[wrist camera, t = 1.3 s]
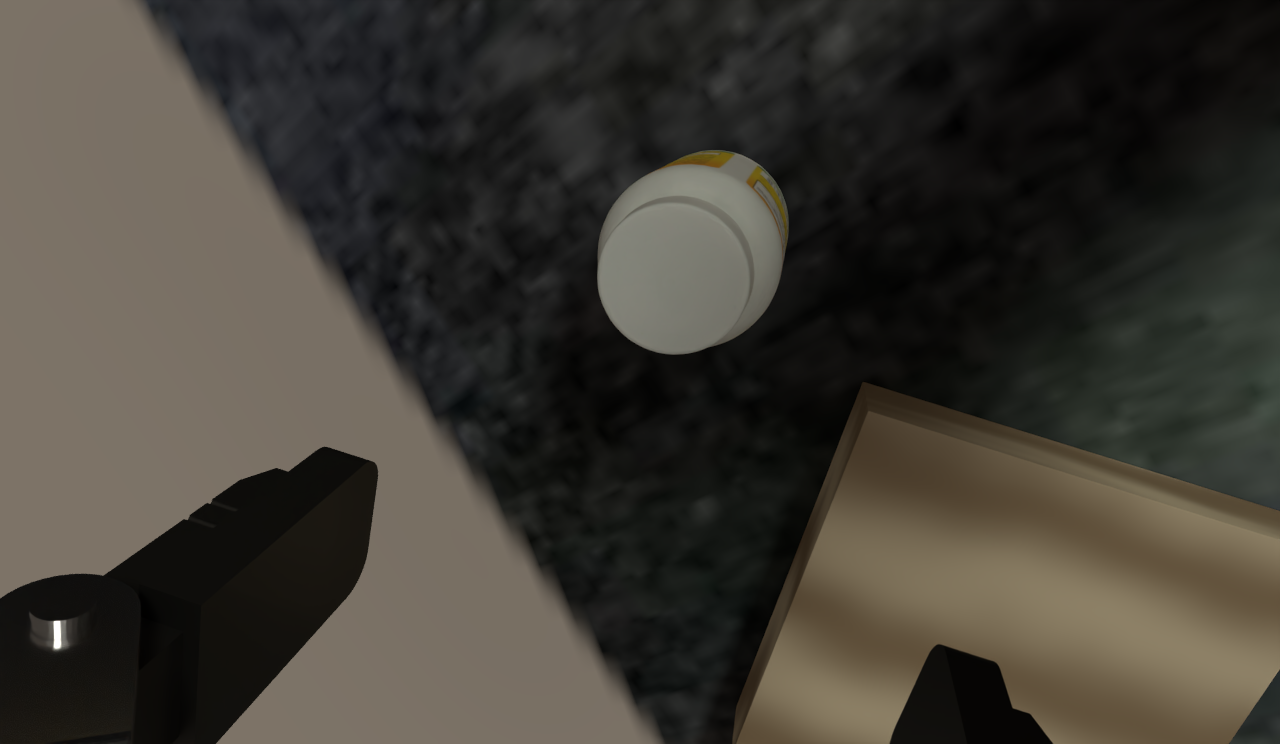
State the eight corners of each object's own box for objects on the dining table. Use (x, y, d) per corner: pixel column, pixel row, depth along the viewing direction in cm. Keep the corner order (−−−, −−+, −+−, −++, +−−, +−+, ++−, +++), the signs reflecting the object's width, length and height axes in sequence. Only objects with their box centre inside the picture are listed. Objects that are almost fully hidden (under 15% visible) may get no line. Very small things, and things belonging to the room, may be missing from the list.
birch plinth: (862, 381, 31) (868, 410, 28) (1301, 517, 30) (1352, 562, 27) (736, 706, 37) (730, 757, 34) (1098, 833, 35) (1123, 897, 33)
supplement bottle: (817, 193, 29) (821, 241, 20) (742, 322, 31) (716, 417, 22) (681, 120, 29) (626, 135, 20) (615, 253, 31) (539, 320, 22)
